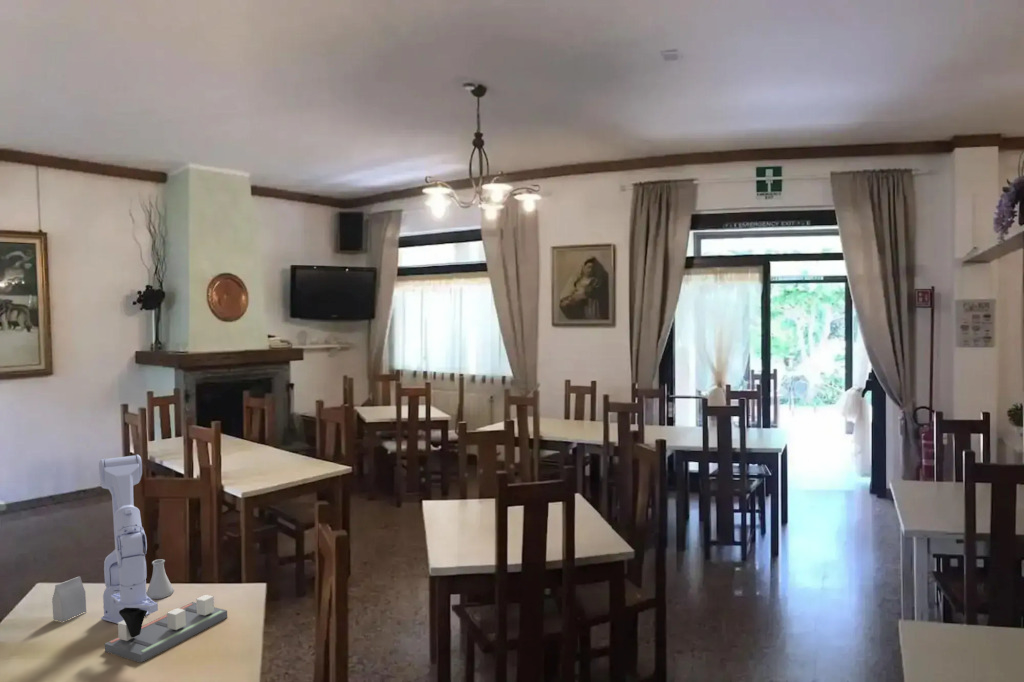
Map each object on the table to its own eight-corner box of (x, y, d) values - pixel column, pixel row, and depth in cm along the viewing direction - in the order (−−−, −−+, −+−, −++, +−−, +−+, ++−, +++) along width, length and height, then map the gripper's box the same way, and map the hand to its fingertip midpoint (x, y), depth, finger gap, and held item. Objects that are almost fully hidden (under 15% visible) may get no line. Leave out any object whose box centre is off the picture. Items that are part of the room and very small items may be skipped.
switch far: (196, 613, 191) (196, 598, 191) (206, 609, 194) (205, 594, 193) (205, 615, 190) (204, 600, 189) (214, 611, 192) (213, 596, 192)
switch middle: (167, 627, 183) (167, 612, 183) (177, 622, 186) (177, 607, 185) (176, 630, 182) (175, 614, 181) (185, 625, 184) (185, 610, 184)
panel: (104, 651, 176) (104, 643, 176) (193, 609, 200) (192, 601, 199) (141, 662, 171) (140, 654, 170) (227, 617, 194) (227, 610, 194)
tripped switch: (118, 638, 178) (117, 622, 177) (129, 633, 180) (128, 617, 180) (126, 641, 176) (126, 625, 176) (137, 635, 179) (137, 620, 179)
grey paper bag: (86, 612, 198) (84, 577, 197) (62, 623, 192) (60, 586, 191) (77, 610, 200) (75, 575, 199) (53, 620, 194) (51, 584, 193)
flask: (162, 600, 205) (160, 566, 205) (140, 599, 207) (138, 564, 206) (179, 590, 212) (177, 557, 212) (157, 588, 214) (155, 555, 213)
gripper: (97, 583, 176) (100, 637, 177) (138, 592, 169) (141, 648, 170) (124, 572, 182) (126, 624, 183) (164, 581, 176) (166, 635, 177)
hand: (135, 635), depth 177 cm, fingers closed
